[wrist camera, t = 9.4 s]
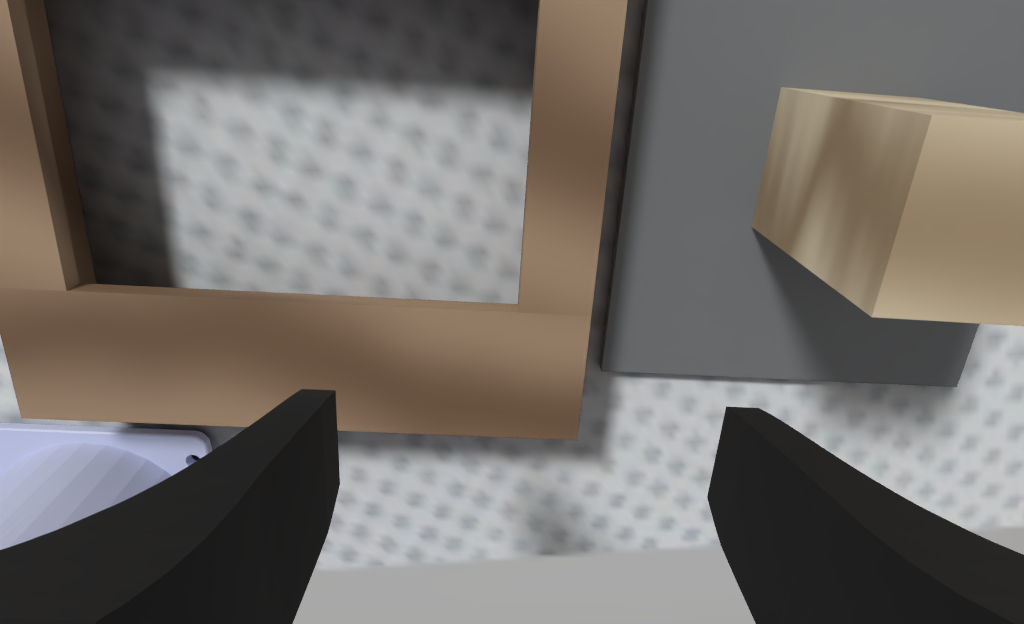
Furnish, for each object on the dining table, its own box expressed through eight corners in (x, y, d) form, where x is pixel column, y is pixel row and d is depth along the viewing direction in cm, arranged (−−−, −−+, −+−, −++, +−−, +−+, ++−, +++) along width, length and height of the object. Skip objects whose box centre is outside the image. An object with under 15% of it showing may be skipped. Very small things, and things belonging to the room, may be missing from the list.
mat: (949, 381, 23) (956, 386, 22) (599, 365, 22) (601, 370, 22) (1114, -93, 18) (1127, -95, 17) (660, -128, 17) (664, -131, 17)
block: (880, 235, 20) (1058, 327, 14) (751, 226, 20) (871, 317, 14) (920, 97, 19) (1141, 130, 12) (781, 87, 19) (931, 115, 12)
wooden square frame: (567, 390, 23) (577, 440, 20) (81, 370, 22) (21, 418, 19) (626, -178, 17) (653, -221, 14) (-43, -232, 16) (-157, -288, 13)
